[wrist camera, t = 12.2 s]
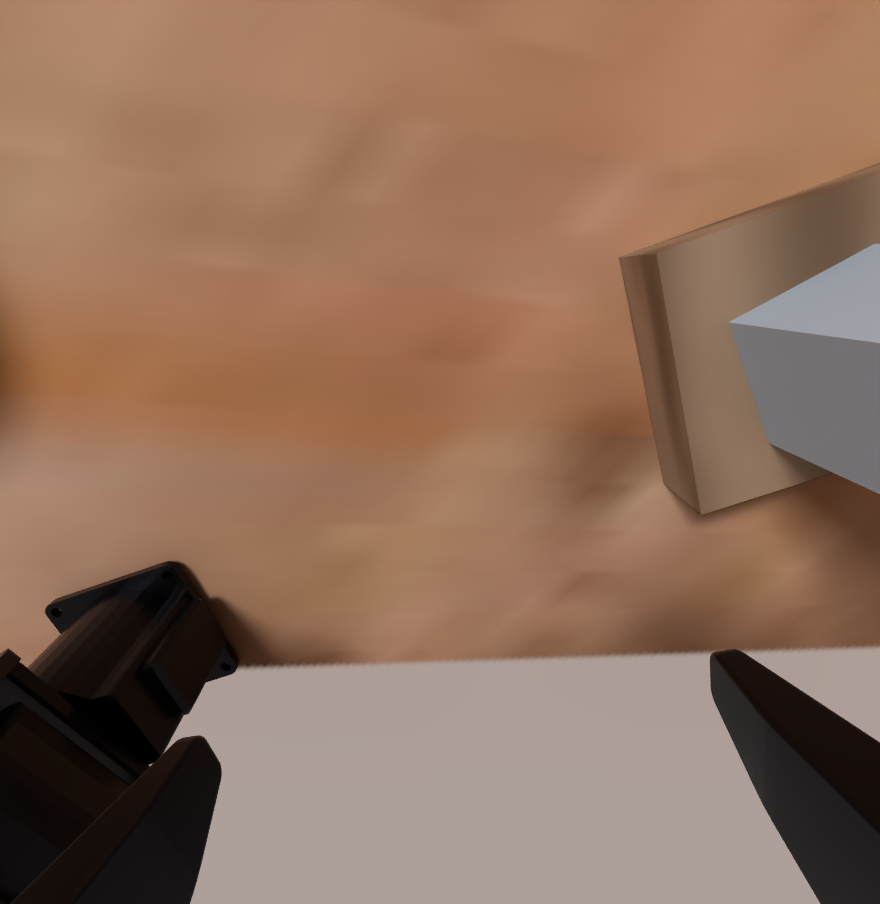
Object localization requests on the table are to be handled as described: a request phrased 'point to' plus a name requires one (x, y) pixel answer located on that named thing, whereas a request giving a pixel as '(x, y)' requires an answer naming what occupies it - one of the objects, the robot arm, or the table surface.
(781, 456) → the walnut block
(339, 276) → the table surface
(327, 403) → the table surface
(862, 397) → the slate block
